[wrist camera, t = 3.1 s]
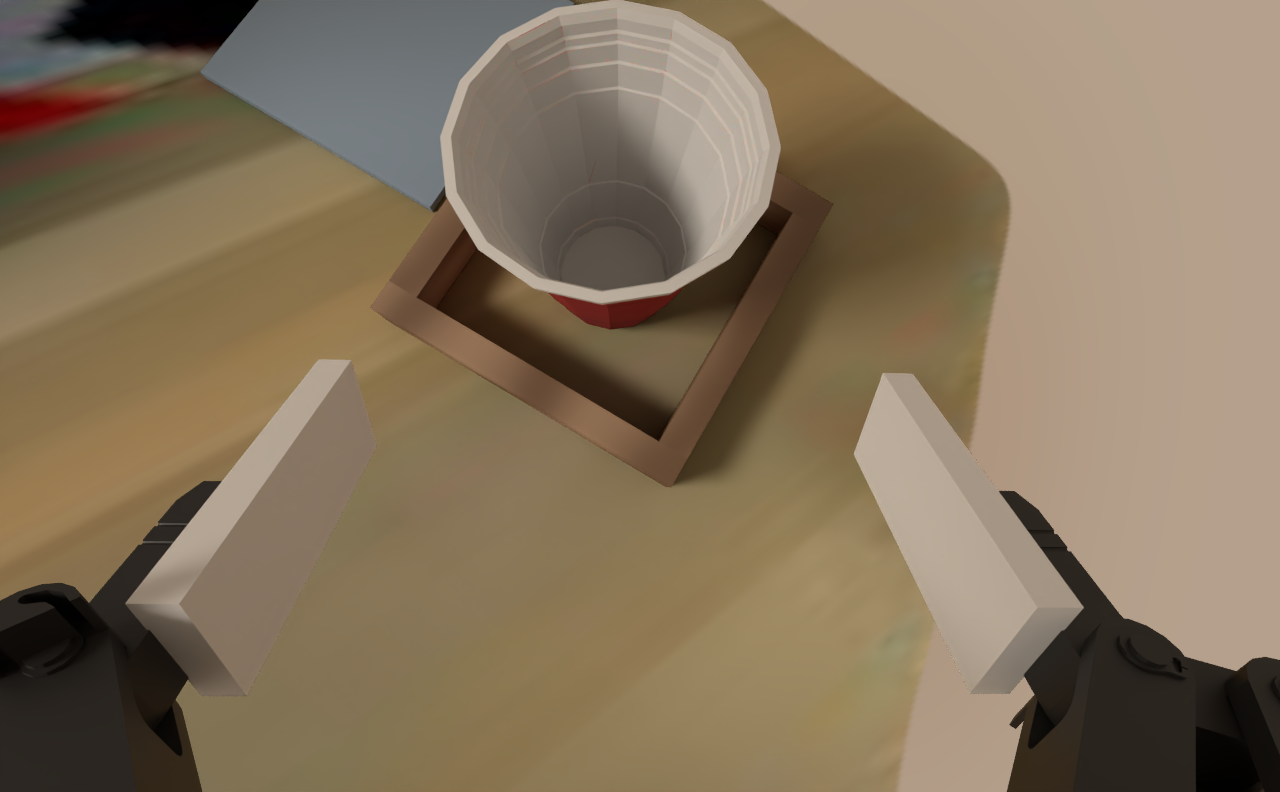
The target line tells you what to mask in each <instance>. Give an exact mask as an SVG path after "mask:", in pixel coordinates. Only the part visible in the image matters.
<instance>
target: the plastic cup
mask: <svg viewBox="0 0 1280 792" xmlns="http://www.w3.org/2000/svg"><path fill="white" fill-rule="evenodd" d="M440 141H441V151H442V161H443V171H444V181H445V191H446V197H447V199H448V200H449V202H450V204H451V205H452V207H453V209H454V210H455V212H456V214H457V215H458V217H459V219H460V220H461V222H462V223H463V225H464V227H465V228H466V230H467V232H468V233H469V235H470V237H471V238H472V240H473V242H474V243H475V245H476V247H477V248H478V250H479V251H481V252H482V253H484V254H485V255H487V256H488V257H489V258H491V259H492V260H494V261H495V262H497V263H498V264H499V265H501V266H502V267H504V268H505V269H507V270H508V271H509V272H511V273H512V274H514V275H515V276H517V277H518V278H519V279H521V280H522V281H524V282H525V283H527V284H528V285H529V286H531V287H532V288H534V289H536V290H539V291H543V292H547V293H549V294H550V295H551V296H552V297H553V298H554V299H555V300H557V301H558V302H560V303H561V304H562V305H564V306H565V307H566V308H567V309H568V310H569V311H570V312H572V313H573V314H574V315H576V316H577V317H579V318H580V319H581V320H583V321H584V322H586V323H587V324H590V325H594V326H599V327H603V328H607V329H617V328H624V327H631V326H635V325H637V324H638V323H640V322H642V321H644V320H645V319H647V318H649V317H650V316H652V315H654V314H655V313H656V312H657V311H658V310H659V309H661V308H662V307H664V306H666V305H667V304H668V303H669V302H670V301H671V300H672V299H673V298H674V297H675V296H676V295H677V294H678V293H679V292H680V291H681V290H682V289H683V288H684V287H685V285H687V284H689V283H690V282H692V281H694V280H695V279H697V278H699V277H701V276H702V275H704V274H706V273H707V272H709V271H711V270H712V269H714V268H716V267H718V266H719V265H721V264H723V263H724V262H726V261H727V260H728V259H730V258H731V256H732V255H733V254H734V252H735V251H736V250H737V248H738V247H739V246H740V244H741V243H742V242H743V240H744V239H745V238H746V236H747V235H748V234H749V232H750V231H751V229H752V228H753V227H754V225H755V224H756V223H757V221H758V220H759V219H760V217H761V216H762V215H763V213H764V212H765V211H766V209H767V208H768V207H769V202H770V197H771V192H772V188H773V183H774V178H775V173H776V169H777V164H778V159H779V154H780V150H781V145H780V141H779V137H778V133H777V129H776V124H775V120H774V116H773V112H772V108H771V103H770V99H769V95H768V91H767V89H766V88H765V86H764V85H763V84H762V82H761V81H760V80H759V78H758V77H757V76H756V75H755V73H754V72H753V71H752V69H751V68H750V67H749V65H748V64H747V63H746V61H745V60H744V59H743V58H742V56H741V55H740V54H739V52H738V51H737V50H736V48H735V47H734V46H733V44H732V43H731V42H729V41H727V40H726V39H724V38H722V37H721V36H719V35H717V34H716V33H714V32H712V31H711V30H709V29H707V28H706V27H704V26H702V25H701V24H699V23H697V22H696V21H694V20H692V19H691V18H689V17H687V16H686V15H684V14H682V13H681V12H679V11H674V10H669V9H664V8H659V7H654V6H649V5H644V4H639V3H634V2H628V1H623V0H609V1H602V2H595V3H587V4H580V5H573V6H565V7H558V8H554V9H552V10H550V11H548V12H546V13H544V14H542V15H540V16H539V17H537V18H535V19H533V20H531V21H529V22H527V23H525V24H523V25H521V26H519V27H517V28H515V29H513V30H511V31H509V32H507V33H505V34H503V35H501V36H500V37H499V38H498V39H497V40H496V41H495V42H494V43H493V45H492V46H491V47H490V48H489V49H488V50H487V51H486V52H485V53H484V54H483V56H482V57H481V58H480V59H479V60H478V61H477V62H476V63H475V64H474V65H473V67H472V68H471V69H470V70H469V71H468V72H467V73H466V74H465V75H464V77H463V78H462V79H461V80H460V81H459V84H458V87H457V90H456V93H455V95H454V98H453V101H452V104H451V107H450V110H449V113H448V115H447V118H446V121H445V124H444V127H443V130H442V133H441V136H440Z"/></svg>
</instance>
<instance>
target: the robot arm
mask: <svg viewBox="0 0 1280 792" xmlns="http://www.w3.org/2000/svg"><path fill="white" fill-rule="evenodd" d="M376 447H377V444H376V440H375V437H374V434H373V431H372V427H371V424H370V421H369V417H368V414H367V411H366V407H365V404H364V401H363V397H362V394H361V391H360V388H359V384H358V381H357V378H356V374H355V371H354V368H353V364H352V361H351V360H326V359H319V360H318V361H317V362H316V363H315V365H314V366H313V367H312V368H311V370H310V371H309V372H308V373H307V375H306V376H305V377H304V378H303V380H302V381H301V382H300V384H299V385H298V386H297V387H296V389H295V390H294V391H293V392H292V394H291V395H290V396H289V397H288V399H287V400H286V401H285V402H284V404H283V405H282V406H281V407H280V409H279V410H278V411H277V413H276V414H275V415H274V416H273V418H272V419H271V420H270V421H269V423H268V424H267V425H266V426H265V428H264V429H263V430H262V431H261V433H260V434H259V435H258V437H257V438H256V439H255V440H254V442H253V443H252V444H251V445H250V447H249V448H248V449H247V450H246V452H245V453H244V454H243V455H242V457H241V458H240V459H239V460H238V462H237V463H236V464H235V466H234V467H233V468H232V469H231V471H230V472H229V473H228V474H227V476H226V477H225V478H224V479H223V481H203V482H202V483H200V484H199V485H197V486H196V487H195V488H193V489H192V490H190V491H189V492H188V493H186V494H185V495H183V496H182V497H180V498H179V499H178V500H176V502H175V503H174V504H173V505H172V506H171V507H170V509H169V510H168V511H167V512H166V513H165V514H164V516H163V517H162V518H161V519H160V520H159V522H158V526H154V527H153V529H152V530H151V531H150V532H149V533H148V534H147V536H146V537H145V538H144V539H143V544H142V545H138V546H137V547H136V549H135V550H134V551H133V552H132V553H131V554H130V556H129V557H128V558H127V559H126V560H125V561H124V563H123V564H122V565H121V566H120V567H119V569H118V570H117V571H116V572H115V573H114V574H113V576H112V577H111V578H110V579H109V580H108V581H107V583H106V584H105V585H104V586H103V587H102V589H101V590H100V591H99V592H98V593H97V594H96V596H95V597H94V598H93V599H92V600H91V601H90V603H88V602H87V600H86V599H85V598H84V597H83V596H82V595H81V594H80V593H79V592H78V590H77V589H76V588H75V587H73V586H70V585H66V584H63V583H52V584H41V585H38V586H35V587H31V588H28V589H25V590H22V591H19V592H17V593H15V594H13V595H11V596H9V597H7V598H5V599H3V600H1V601H0V792H202V788H201V784H200V780H199V776H198V772H197V768H196V764H195V760H194V756H193V752H192V748H191V744H190V740H189V736H188V732H187V728H186V724H185V720H184V716H183V712H182V709H181V707H180V706H179V704H178V703H177V701H176V700H175V699H176V698H177V696H178V694H179V693H180V691H181V689H182V688H183V686H184V685H185V683H186V681H187V680H189V681H190V683H191V684H192V685H193V686H194V687H195V689H196V690H197V691H198V692H199V693H200V695H201V696H247V695H248V693H249V691H250V689H251V687H252V685H253V683H254V681H255V679H256V678H257V676H258V674H259V672H260V670H261V668H262V666H263V664H264V662H265V660H266V658H267V656H268V655H269V653H270V651H271V649H272V647H273V645H274V643H275V641H276V639H277V637H278V635H279V633H280V631H281V630H282V628H283V626H284V624H285V622H286V620H287V618H288V616H289V614H290V612H291V610H292V608H293V607H294V605H295V603H296V601H297V599H298V597H299V595H300V593H301V591H302V589H303V587H304V585H305V584H306V582H307V580H308V578H309V576H310V574H311V572H312V570H313V568H314V566H315V564H316V562H317V561H318V559H319V557H320V555H321V553H322V551H323V549H324V547H325V545H326V543H327V541H328V539H329V538H330V536H331V534H332V532H333V530H334V528H335V526H336V524H337V522H338V520H339V518H340V516H341V515H342V513H343V511H344V509H345V507H346V505H347V503H348V501H349V499H350V497H351V495H352V493H353V492H354V490H355V488H356V486H357V484H358V482H359V480H360V478H361V476H362V474H363V472H364V470H365V468H366V467H367V465H368V463H369V461H370V459H371V457H372V455H373V453H374V451H375V449H376ZM854 456H855V458H856V460H857V462H858V464H859V466H860V468H861V470H862V472H863V474H864V476H865V479H866V481H867V483H868V485H869V487H870V489H871V491H872V493H873V495H874V497H875V499H876V501H877V503H878V505H879V507H880V509H881V511H882V514H883V516H884V518H885V520H886V522H887V524H888V526H889V528H890V530H891V532H892V534H893V536H894V538H895V540H896V542H897V544H898V547H899V549H900V551H901V553H902V555H903V557H904V559H905V561H906V563H907V565H908V567H909V569H910V571H911V573H912V575H913V577H914V579H915V582H916V584H917V586H918V588H919V590H920V592H921V594H922V596H923V598H924V600H925V602H926V604H927V606H928V608H929V610H930V612H931V615H932V617H933V619H934V621H935V623H936V625H937V627H938V629H939V631H940V633H941V635H942V637H943V639H944V641H945V643H946V645H947V647H948V650H949V651H950V654H951V656H952V658H953V660H954V662H955V664H956V666H957V668H958V670H959V672H960V674H961V676H962V678H963V680H964V683H965V685H966V687H967V689H968V691H969V693H970V694H991V693H994V694H995V693H996V694H999V693H1001V694H1003V693H1004V694H1005V693H1006V694H1007V693H1010V692H1011V691H1012V690H1013V689H1014V688H1015V687H1016V685H1017V684H1018V683H1019V682H1020V681H1021V680H1022V678H1023V677H1025V678H1026V680H1027V682H1028V684H1029V685H1030V687H1031V689H1032V690H1033V692H1034V694H1035V695H1034V696H1033V697H1032V698H1031V699H1030V700H1029V702H1028V703H1027V704H1026V705H1025V706H1024V707H1023V708H1022V709H1021V710H1020V711H1019V712H1018V713H1017V714H1016V716H1015V717H1014V718H1013V720H1012V721H1011V723H1010V725H1011V726H1012V727H1014V728H1015V729H1016V728H1017V727H1018V726H1019V725H1020V724H1021V723H1022V722H1023V721H1024V722H1023V726H1022V730H1021V734H1020V739H1019V743H1018V747H1017V752H1016V756H1015V760H1014V764H1013V769H1012V773H1011V777H1010V781H1009V785H1008V790H1007V792H1280V660H1277V659H1272V658H1268V657H1262V658H1255V659H1252V660H1251V661H1249V662H1248V663H1247V664H1245V665H1244V666H1243V667H1241V668H1240V669H1239V670H1238V671H1234V670H1230V669H1227V668H1223V667H1220V666H1216V665H1212V664H1209V663H1205V662H1202V661H1198V660H1194V659H1191V658H1187V657H1184V655H1183V654H1182V652H1181V651H1180V650H1179V649H1178V648H1177V647H1176V646H1174V645H1173V644H1172V643H1171V642H1170V641H1169V640H1168V639H1167V638H1165V637H1164V636H1163V635H1161V634H1159V633H1158V632H1156V631H1154V630H1153V629H1151V628H1149V627H1148V626H1146V625H1143V624H1140V623H1138V622H1135V621H1133V620H1130V619H1124V618H1123V617H1122V616H1121V615H1120V614H1119V613H1118V612H1117V610H1116V609H1115V608H1114V606H1113V605H1112V604H1111V602H1110V601H1109V600H1108V599H1107V597H1106V596H1105V595H1104V594H1103V592H1102V591H1101V590H1100V588H1099V587H1098V586H1097V585H1096V583H1095V582H1094V581H1093V579H1092V578H1091V577H1090V576H1089V574H1088V573H1087V572H1086V570H1085V569H1084V568H1083V567H1082V565H1081V564H1080V563H1079V562H1078V560H1077V559H1076V558H1075V557H1074V555H1073V554H1072V553H1071V552H1068V551H1067V546H1066V545H1065V544H1064V542H1063V541H1062V540H1061V539H1060V537H1059V536H1058V535H1057V534H1054V530H1053V528H1052V527H1051V526H1050V524H1049V523H1048V522H1047V520H1046V519H1045V518H1044V517H1043V515H1042V514H1041V513H1040V511H1039V510H1038V509H1037V508H1035V507H1034V506H1033V505H1032V504H1030V503H1029V502H1027V501H1026V500H1025V499H1024V498H1022V497H1021V496H1020V495H1019V494H1017V493H1016V492H1015V491H998V490H997V488H996V487H995V486H994V484H993V483H992V481H991V480H990V479H989V477H988V476H987V475H986V473H985V472H984V471H983V469H982V468H981V466H980V465H979V464H978V462H977V461H976V460H975V458H974V457H973V456H972V454H971V453H970V451H969V450H968V449H967V447H966V446H965V445H964V443H963V442H962V440H961V439H960V438H959V436H958V435H957V434H956V432H955V431H954V430H953V428H952V427H951V425H950V424H949V423H948V421H947V420H946V419H945V417H944V416H943V415H942V413H941V412H940V410H939V409H938V408H937V406H936V405H935V404H934V402H933V401H932V400H931V398H930V397H929V395H928V394H927V393H926V391H925V390H924V389H923V387H922V386H921V384H920V383H919V382H918V380H917V379H916V378H915V376H914V375H913V374H906V373H883V374H882V377H881V380H880V383H879V385H878V388H877V391H876V394H875V396H874V399H873V402H872V405H871V408H870V410H869V413H868V416H867V419H866V421H865V424H864V427H863V430H862V433H861V435H860V438H859V441H858V444H857V446H856V449H855V452H854Z"/></svg>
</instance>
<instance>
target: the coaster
mask: <svg viewBox="0 0 1280 792" xmlns="http://www.w3.org/2000/svg"><path fill="white" fill-rule="evenodd" d="M573 5H574V3H573V2H571V1H569V0H259V1H258V2H257V3H256V5H255V6H254V7H253V8H252V9H251V11H250V12H249V13H248V14H247V16H246V17H245V18H244V19H243V20H242V22H241V23H240V24H239V25H238V26H237V28H236V29H235V30H234V31H233V33H232V34H231V35H230V36H229V37H228V39H227V40H226V41H225V42H224V44H223V45H222V46H221V47H220V48H219V50H218V51H217V52H216V53H215V54H214V56H213V57H212V58H211V59H210V61H209V62H208V63H207V64H206V65H205V67H204V68H203V69H202V70H201V72H200V73H201V74H202V75H203V76H204V77H205V78H206V79H208V80H209V81H211V82H213V83H215V84H216V85H218V86H220V87H221V88H223V89H225V90H226V91H228V92H230V93H232V94H233V95H235V96H237V97H238V98H240V99H242V100H243V101H245V102H247V103H249V104H250V105H252V106H254V107H255V108H257V109H259V110H260V111H262V112H264V113H265V114H267V115H269V116H271V117H272V118H274V119H276V120H277V121H279V122H281V123H282V124H284V125H286V126H288V127H289V128H291V129H293V130H294V131H296V132H298V133H299V134H301V135H303V136H305V137H306V138H308V139H310V140H311V141H313V142H315V143H316V144H318V145H320V146H322V147H323V148H325V149H327V150H328V151H330V152H332V153H333V154H335V155H337V156H339V157H340V158H342V159H344V160H345V161H347V162H349V163H350V164H352V165H354V166H356V167H357V168H359V169H361V170H362V171H364V172H366V173H367V174H369V175H371V176H372V177H374V178H376V179H378V180H379V181H381V182H383V183H384V184H386V185H388V186H389V187H391V188H393V189H395V190H396V191H398V192H400V193H401V194H403V195H405V196H406V197H408V198H410V199H412V200H413V201H415V202H417V203H418V204H420V205H422V206H423V207H425V208H427V209H429V210H430V211H432V212H433V211H434V210H435V208H436V207H437V205H438V204H439V203H440V201H441V200H442V198H443V197H444V195H445V194H446V191H445V181H444V171H443V161H442V151H441V141H440V136H441V133H442V130H443V127H444V124H445V121H446V118H447V115H448V113H449V110H450V107H451V104H452V101H453V98H454V95H455V93H456V90H457V87H458V84H459V81H460V80H461V79H462V78H463V77H464V75H465V74H466V73H467V72H468V71H469V70H470V69H471V68H472V67H473V65H474V64H475V63H476V62H477V61H478V60H479V59H480V58H481V57H482V56H483V54H484V53H485V52H486V51H487V50H488V49H489V48H490V47H491V46H492V45H493V43H494V42H495V41H496V40H497V39H498V38H499V37H500V36H501V35H503V34H505V33H507V32H509V31H511V30H513V29H515V28H517V27H519V26H521V25H523V24H525V23H527V22H529V21H531V20H533V19H535V18H537V17H539V16H540V15H542V14H544V13H546V12H548V11H550V10H552V9H554V8H558V7H565V6H573Z"/></svg>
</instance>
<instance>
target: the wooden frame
mask: <svg viewBox="0 0 1280 792" xmlns="http://www.w3.org/2000/svg"><path fill="white" fill-rule="evenodd" d="M832 206H833V203H831V202H829V201H828V200H826V199H824V198H822V197H821V196H819V195H817V194H815V193H814V192H812V191H810V190H809V189H807V188H805V187H803V186H802V185H800V184H798V183H796V182H795V181H793V180H791V179H789V178H788V177H786V176H784V175H782V174H781V173H779V172H777V171H776V173H775V178H774V183H773V188H772V192H771V197H770V202H769V207H768V208H767V209H766V211H765V212H764V213H763V215H762V216H761V217H760V219H759V220H758V221H757V223H758V224H760V225H762V226H764V227H765V228H767V229H769V230H771V231H772V232H774V233H776V234H777V237H776V239H775V241H774V242H773V244H772V246H771V247H770V249H769V251H768V253H767V254H766V256H765V258H764V259H763V261H762V263H761V264H760V266H759V268H758V270H757V271H756V273H755V275H754V276H753V278H752V280H751V282H750V283H749V285H748V287H747V288H746V290H745V292H744V294H743V295H742V297H741V299H740V300H739V302H738V304H737V305H736V307H735V309H734V311H733V312H732V314H731V316H730V317H729V319H728V321H727V323H726V324H725V326H724V328H723V329H722V331H721V333H720V335H719V336H718V338H717V340H716V341H715V343H714V345H713V346H712V348H711V350H710V352H709V353H708V355H707V357H706V358H705V360H704V362H703V364H702V365H701V367H700V369H699V370H698V372H697V374H696V376H695V377H694V379H693V381H692V382H691V384H690V386H689V387H688V389H687V391H686V393H685V394H684V396H683V398H682V399H681V401H680V403H679V405H678V406H677V408H676V410H675V411H674V413H673V415H672V417H671V418H670V420H669V422H668V423H667V425H666V427H665V428H664V430H663V432H662V434H661V435H660V437H659V439H658V440H656V439H654V438H652V437H650V436H649V435H647V434H645V433H644V432H642V431H640V430H639V429H637V428H635V427H634V426H632V425H630V424H629V423H627V422H625V421H624V420H622V419H620V418H619V417H617V416H615V415H613V414H612V413H610V412H608V411H607V410H605V409H603V408H602V407H600V406H598V405H597V404H595V403H593V402H592V401H590V400H588V399H587V398H585V397H583V396H582V395H580V394H578V393H577V392H575V391H573V390H571V389H570V388H568V387H566V386H565V385H563V384H561V383H560V382H558V381H556V380H555V379H553V378H551V377H550V376H548V375H546V374H545V373H543V372H541V371H540V370H538V369H536V368H534V367H533V366H531V365H529V364H528V363H526V362H524V361H523V360H521V359H519V358H518V357H516V356H514V355H513V354H511V353H509V352H508V351H506V350H504V349H503V348H501V347H499V346H497V345H496V344H494V343H492V342H491V341H489V340H487V339H486V338H484V337H482V336H481V335H479V334H477V333H476V332H474V331H472V330H471V329H469V328H467V327H466V326H464V325H462V324H461V323H459V322H457V321H455V320H454V319H452V318H450V317H449V316H447V315H445V314H444V313H442V312H440V311H439V310H437V309H436V308H437V306H438V305H439V304H440V302H441V301H442V299H443V298H444V296H445V295H446V293H447V292H448V290H449V289H450V287H451V286H452V285H453V283H454V282H455V280H456V279H457V277H458V276H459V274H460V273H461V271H462V270H463V268H464V267H465V265H466V264H467V263H468V261H469V260H470V258H471V257H472V255H473V254H474V252H475V251H476V249H477V247H476V245H475V243H474V242H473V240H472V238H471V237H470V235H469V233H468V232H467V230H466V228H465V227H464V225H463V223H462V222H461V220H460V219H459V217H458V215H457V214H456V212H455V210H454V209H453V207H452V205H451V204H450V202H449V200H448V199H446V200H445V202H444V203H443V205H442V206H441V207H440V209H439V210H438V212H437V213H436V215H435V216H434V217H433V219H432V220H431V222H430V223H429V225H428V226H427V227H426V229H425V230H424V232H423V233H422V234H421V236H420V237H419V239H418V240H417V242H416V243H415V244H414V246H413V247H412V249H411V250H410V252H409V253H408V254H407V256H406V257H405V259H404V260H403V261H402V263H401V264H400V266H399V267H398V269H397V270H396V271H395V273H394V274H393V276H392V277H391V279H390V280H389V281H388V283H387V284H386V286H385V287H384V288H383V290H382V291H381V293H380V294H379V296H378V297H377V298H376V300H375V301H374V303H373V304H372V306H371V307H370V308H371V309H373V310H374V311H375V312H377V313H378V314H380V315H381V316H382V317H384V318H385V319H387V320H388V321H389V322H391V323H392V324H394V325H396V326H397V327H399V328H401V329H402V330H404V331H406V332H407V333H409V334H411V335H412V336H414V337H416V338H417V339H419V340H421V341H422V342H424V343H426V344H427V345H429V346H431V347H433V348H434V349H436V350H438V351H439V352H441V353H443V354H444V355H446V356H448V357H449V358H451V359H453V360H454V361H456V362H458V363H459V364H461V365H463V366H464V367H466V368H468V369H469V370H471V371H473V372H474V373H476V374H478V375H479V376H481V377H483V378H484V379H486V380H488V381H489V382H491V383H493V384H494V385H496V386H498V387H499V388H501V389H503V390H504V391H506V392H508V393H510V394H511V395H513V396H515V397H516V398H518V399H520V400H521V401H523V402H525V403H526V404H528V405H530V406H531V407H533V408H535V409H536V410H538V411H540V412H541V413H543V414H545V415H546V416H548V417H550V418H551V419H553V420H555V421H556V422H558V423H560V424H561V425H563V426H565V427H566V428H568V429H570V430H571V431H573V432H575V433H576V434H578V435H580V436H581V437H583V438H585V439H587V440H588V441H590V442H592V443H593V444H595V445H597V446H598V447H600V448H602V449H603V450H605V451H607V452H608V453H610V454H612V455H613V456H615V457H617V458H618V459H620V460H622V461H623V462H625V463H627V464H628V465H630V466H632V467H633V468H635V469H637V470H638V471H640V472H642V473H643V474H645V475H647V476H648V477H650V478H652V479H653V480H655V481H657V482H658V483H660V484H662V485H664V486H665V487H672V485H673V483H674V481H675V480H676V478H677V476H678V474H679V473H680V471H681V469H682V467H683V466H684V464H685V462H686V460H687V459H688V457H689V455H690V453H691V452H692V450H693V448H694V447H695V445H696V443H697V441H698V440H699V438H700V436H701V434H702V433H703V431H704V429H705V427H706V426H707V424H708V422H709V420H710V419H711V417H712V415H713V413H714V412H715V410H716V408H717V406H718V405H719V403H720V401H721V399H722V398H723V396H724V394H725V392H726V391H727V389H728V387H729V385H730V384H731V382H732V380H733V378H734V377H735V375H736V373H737V371H738V370H739V368H740V366H741V364H742V363H743V361H744V359H745V357H746V356H747V354H748V352H749V350H750V349H751V347H752V345H753V343H754V342H755V340H756V338H757V337H758V335H759V333H760V331H761V330H762V328H763V326H764V324H765V323H766V321H767V319H768V317H769V316H770V314H771V312H772V310H773V309H774V307H775V305H776V303H777V302H778V300H779V298H780V296H781V295H782V293H783V291H784V289H785V288H786V286H787V284H788V282H789V281H790V279H791V277H792V275H793V274H794V272H795V270H796V268H797V267H798V265H799V263H800V261H801V260H802V258H803V256H804V254H805V253H806V251H807V249H808V247H809V246H810V244H811V242H812V240H813V239H814V237H815V235H816V233H817V232H818V230H819V228H820V227H821V225H822V223H823V221H824V220H825V218H826V216H827V214H828V213H829V211H830V209H831V207H832Z"/></svg>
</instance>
